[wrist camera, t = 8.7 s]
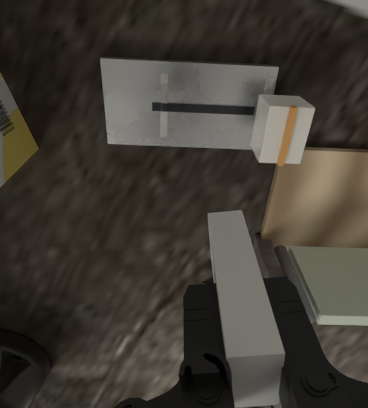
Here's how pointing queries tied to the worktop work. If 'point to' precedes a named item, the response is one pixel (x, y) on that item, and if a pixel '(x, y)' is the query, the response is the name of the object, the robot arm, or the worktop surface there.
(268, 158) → the fader cap
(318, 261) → the door
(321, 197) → the base
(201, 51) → the worktop surface
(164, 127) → the fader console
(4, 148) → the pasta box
